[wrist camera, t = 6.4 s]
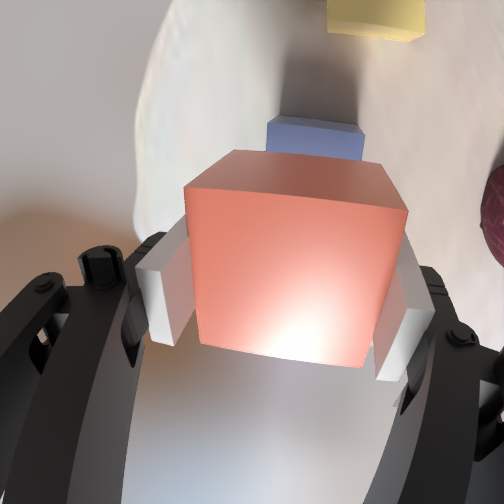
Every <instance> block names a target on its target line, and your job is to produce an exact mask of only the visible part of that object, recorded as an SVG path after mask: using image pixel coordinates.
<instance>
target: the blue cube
mask: <svg viewBox="0 0 504 504" xmlns="http://www.w3.org/2000/svg"><path fill="white" fill-rule="evenodd" d="M364 139H365V134H364V133H363V132H362V130H361V129H360V128H359V126H358V125H354V124H347V123H341V122H334V121H327V120H319V119H311V118H302V117H293V116H282V115H278V116H277V117H275V118H274V119H272V120H271V121H269V122H268V123H267V142H266V151H267V152H281V153H293V154H304V155H314V156H324V157H332V158H341V159H349V160H356V161H362V154H363V146H364Z"/></svg>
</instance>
